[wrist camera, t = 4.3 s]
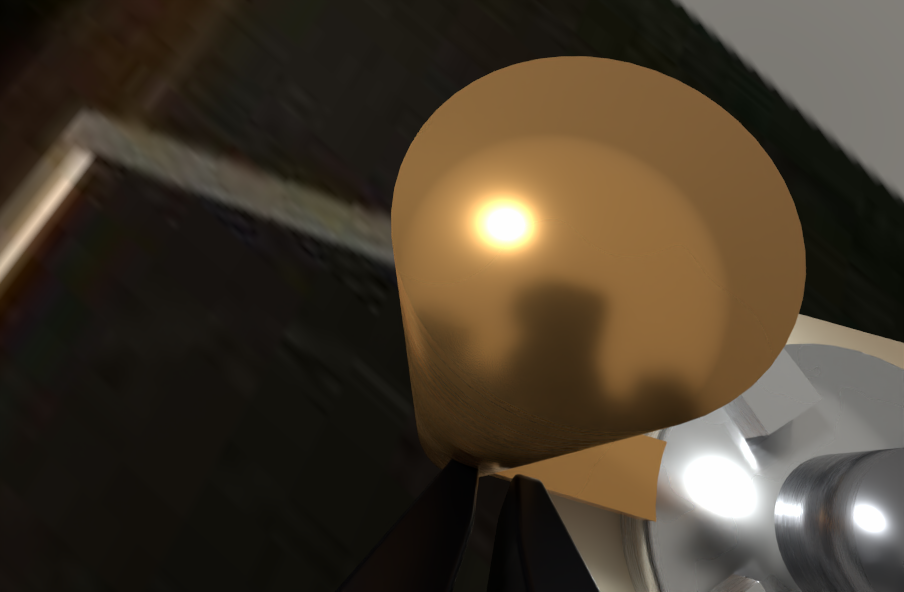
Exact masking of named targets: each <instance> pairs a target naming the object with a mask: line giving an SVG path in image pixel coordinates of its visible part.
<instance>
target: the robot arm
mask: <svg viewBox="0 0 904 592" xmlns="http://www.w3.org/2000/svg"><path fill="white" fill-rule="evenodd" d="M478 478H479V469H477V468H473V467H469V466H467V465H464V464H461V463H459V462H457V461H455V460H453V459H451V460H450V461H449V462H448V463H447V465H446V466H445V467H444V468H443V469H442V470H441V471H440V473H439V474H438V475H437V476H436V477H435V478H434V479H433V481H432V482H431V483H430V484H429V485H428V486H427V487H426V489H425V490H424V491H423V492H422V493H421V494H420V495H419V497H418V498H417V499H416V500H415V501H414V502H413V503H412V505H411V506H410V507H409V508H408V509H407V510H406V511H405V513H404V514H403V515H402V516H401V517H400V518H399V519H398V521H397V522H396V523H395V524H394V525H393V526H392V527H391V529H390V530H389V531H388V532H387V533H386V534H385V535H384V537H383V538H382V539H381V540H380V541H379V542H378V543H377V545H376V546H375V547H374V548H373V549H372V550H371V551H370V553H369V554H368V555H367V556H366V557H365V558H364V559H363V561H362V562H361V563H360V564H359V565H358V566H357V567H356V569H355V570H354V571H353V572H352V573H351V574H350V575H349V577H348V578H347V579H346V580H345V581H344V582H343V583H342V585H341V586H340V587H339V588H338V589H337V590H336V591H335V592H452V591H453V587H454V584H455V581H456V578H457V575H458V572H459V569H460V566H461V563H462V560H463V557H464V554H465V551H466V548H467V544H468V541H469V538H470V535H471V531H472V527H473V522H474V516H475V507H476V497H477V487H478ZM487 592H600V590H599V588H598V586H597V585H596V583H595V581H594V579H593V577H592V575H591V573H590V571H589V569H588V568H587V566H586V564H585V562H584V560H583V558H582V556H581V554H580V552H579V550H578V549H577V547H576V545H575V543H574V541H573V539H572V537H571V535H570V533H569V532H568V530H567V528H566V526H565V524H564V522H563V520H562V518H561V516H560V514H559V513H558V511H557V509H556V507H555V505H554V503H553V501H552V499H551V497H550V496H549V494H548V492H547V490H546V488H545V486H544V484H543V483H542V482H541V481H540V480H538V479H536V478H532V477H528V476H525V475H521V474H516V475H515V476H514V477H513V479H512V481H511V484H510V487H509V489H508V492H507V495H506V498H505V501H504V503H503V506H502V509H501V512H500V515H499V519H498V524H497V529H496V536H495V542H494V548H493V555H492V561H491V567H490V574H489V580H488V586H487Z"/></svg>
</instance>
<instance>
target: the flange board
mask: <svg viewBox="0 0 904 592" xmlns="http://www.w3.org/2000/svg"><path fill="white" fill-rule="evenodd" d="M809 343H811V344H822V345H833V346H838V347H843V348H847V349H852V350H857V351H860V352H863V353H866V354H868V355H871V356H874V357H877V358H880V359H882V360H884V361H887V362H889V363H891V364H893V365H895V366H897V367H900V368H902V369H904V343H901V342H898V341H894V340H890V339H887V338H883V337H880V336H876V335H872V334H869V333H865V332H862V331H858V330H854V329H851V328H847V327H844V326H840V325H836V324H833V323H829V322H826V321H822V320H818V319H815V318H811V317H808V316H804V315H801V314H798V317H797V321H796V324H795V326H794V328H793V330H792V332H791V334H790V336H789V339H788V341H787V343H786V345H787V344H809ZM548 494H549V496H550V497H551V499H552V501H553V503H554V505H555V507H556V509H557V511H558V513H559V514H560V516H561V518H562V520H563V522H564V524H565V526H566V528H567V530H568V532H569V533H570V535H571V537H572V539H573V541H574V543H575V545H576V547H577V549H578V550H579V552H580V554H581V556H582V558H583V560H584V562H585V564H586V566H587V568H588V569H589V571H590V573H591V575H592V577H593V579H594V581H595V583H596V585H597V586H598V588H599V590H600V592H636V591H635V589H634V586H633V584H632V581H631V578H630V575H629V571H628V568H627V564H626V560H625V556H624V552H623V545H622V538H621V532H620V514H618V513H614V512H611V511H608V510H604V509H601V508H598V507H594V506H591V505H587V504H584V503H581V502H577V501H574V500H571V499H567V498H564V497H561V496H557V495H554V494H551V493H548Z"/></svg>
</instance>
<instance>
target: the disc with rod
mask: <svg viewBox="0 0 904 592" xmlns="http://www.w3.org/2000/svg"><path fill="white" fill-rule="evenodd" d="M391 227H392V243H393V251H394V258H395V266H396V273H397V281H398V288H399V296H400V303H401V311H402V318H403V326H404V333H405V341H406V348H407V356H408V363H409V371H410V378H411V386H412V393H413V401H414V408H415V416H416V423H417V431H418V437H419V440H420V443H421V446H422V448H423V450H424V452H425V453H426V455H427V456H428V458H429V459H430V460H431V461H432V462H433V463H434V464H435V465H436V466H437V467H438V468H440V469H441V470H442V469H443V468H444V467H445V466H446V465H447V463H448V462H449V461H450V460H451V459H453V460H455V461H457V462H459V463H461V464H464V465H467V466H469V467H473V468H477V469H479V477H481V476H485V475H491V476H494V477H497V478H501V479H504V480H507V481H512V479H513V477H514V476H515V475H516V474H521V475H525V476H528V477H532V478H536V479H538V480H540V481H541V482H542V483H543V484H544V486H545V488H546V490H547V492H548V493H551V494H554V495H557V496H561V497H564V498H567V499H571V500H574V501H577V502H581V503H584V504H587V505H591V506H594V507H598V508H601V509H604V510H608V511H611V512H614V513H618V514H620V532H621V538H622V545H623V552H624V556H625V560H626V564H627V568H628V571H629V575H630V578H631V581H632V584H633V586H634V589H635V591H636V592H904V369H902V368H900V367H897V366H895V365H893V364H891V363H889V362H887V361H884V360H882V359H880V358H877V357H874V356H871V355H868V354H866V353H863V352H860V351H857V350H852V349H847V348H843V347H838V346H833V345H822V344H811V343H809V344H787V345H786V343H787V341H788V339H789V336H790V334H791V332H792V330H793V328H794V326H795V324H796V321H797V317H798V314H799V310H800V307H801V303H802V300H803V292H804V285H805V277H806V265H805V246H804V240H803V234H802V228H801V224H800V221H799V217H798V214H797V211H796V208H795V204H794V202H793V199H792V197H791V195H790V193H789V191H788V188H787V186H786V184H785V182H784V180H783V178H782V176H781V175H780V173H779V171H778V170H777V168H776V166H775V165H774V163H773V162H772V160H771V158H770V157H769V156H768V155H767V153H766V152H765V151H764V149H763V148H762V147H761V145H760V144H759V143H758V142H757V140H756V139H755V138H754V137H753V136H752V135H751V134H750V133H749V132H748V131H747V130H746V129H745V128H744V127H743V126H742V125H741V124H740V123H739V122H738V121H737V120H736V119H735V118H734V117H733V116H731V115H730V114H729V113H728V112H727V111H725V110H724V109H723V108H722V107H721V106H719V105H718V104H716V103H715V102H713V101H712V100H710V99H709V98H708V97H706V96H705V95H703V94H702V93H700V92H699V91H697V90H695V89H693V88H691V87H689V86H687V85H686V84H684V83H682V82H680V81H678V80H676V79H674V78H671V77H669V76H667V75H664V74H662V73H659V72H657V71H654V70H651V69H648V68H645V67H641V66H638V65H635V64H632V63H627V62H622V61H617V60H612V59H605V58H595V57H585V56H577V57H553V58H544V59H536V60H532V61H527V62H523V63H519V64H515V65H512V66H509V67H506V68H503V69H500V70H497V71H495V72H492V73H490V74H488V75H486V76H484V77H482V78H480V79H478V80H476V81H474V82H472V83H471V84H469V85H468V86H466V87H465V88H463V89H462V90H460V91H459V92H457V93H456V94H454V95H453V96H452V97H451V98H450V99H449V100H447V101H446V102H445V103H444V104H443V105H442V106H440V107H439V108H438V109H437V110H436V111H435V113H434V114H433V115H432V116H431V117H430V118H429V119H428V121H427V122H426V123H425V124H424V125H423V126H422V128H421V130H420V131H419V133H418V134H417V136H416V137H415V139H414V140H413V142H412V143H411V145H410V147H409V149H408V152H407V154H406V156H405V158H404V160H403V162H402V165H401V167H400V171H399V174H398V178H397V181H396V185H395V188H394V195H393V203H392V210H391Z"/></svg>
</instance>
